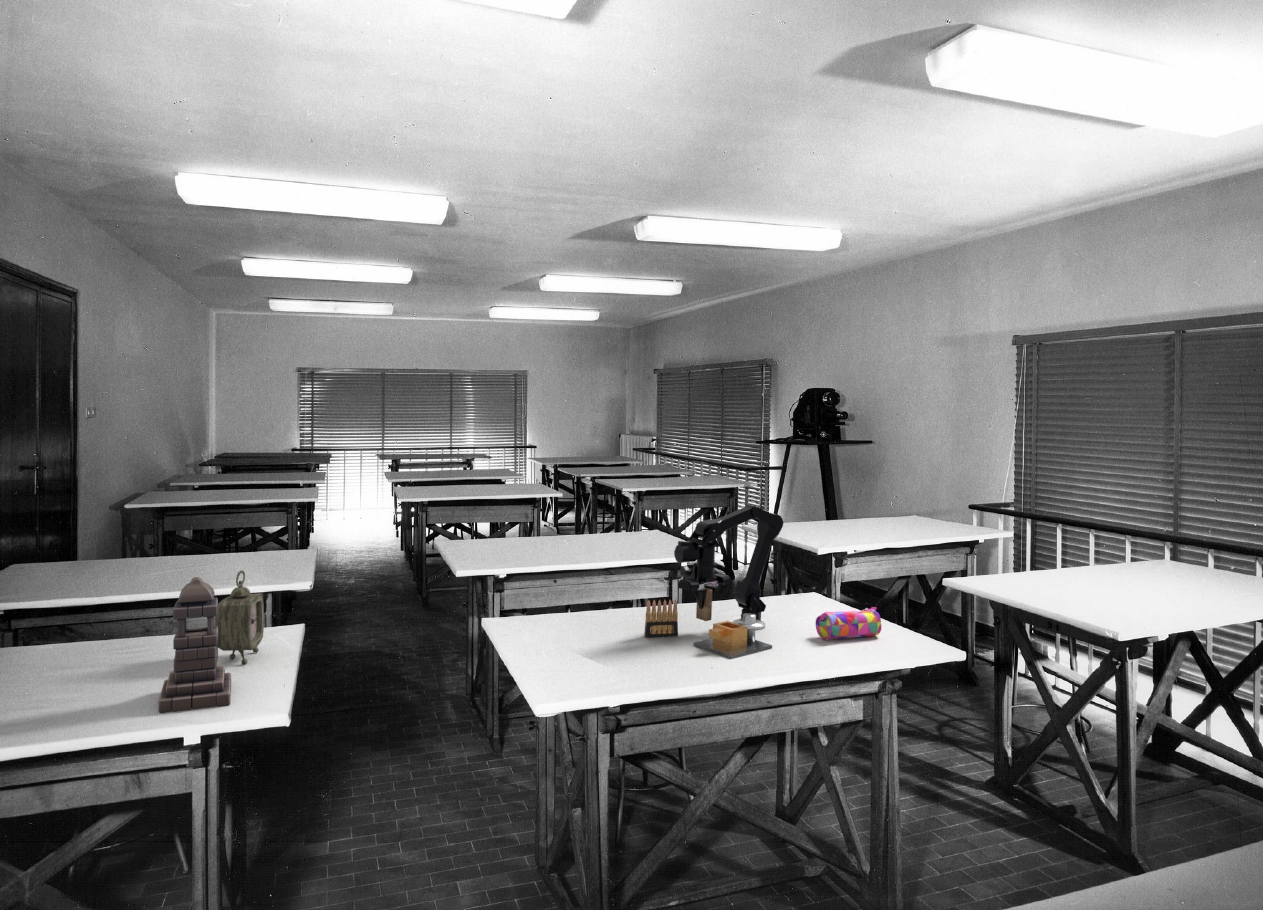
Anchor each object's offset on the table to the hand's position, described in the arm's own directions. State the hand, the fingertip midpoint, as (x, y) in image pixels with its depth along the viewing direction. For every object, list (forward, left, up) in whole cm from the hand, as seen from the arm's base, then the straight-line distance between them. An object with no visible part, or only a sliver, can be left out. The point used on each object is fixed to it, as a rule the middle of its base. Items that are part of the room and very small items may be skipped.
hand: (704, 608), depth 267 cm
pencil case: (-37, +30, -9) cm, 48 cm away
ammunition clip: (+14, -5, -8) cm, 17 cm away
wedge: (0, 0, -4) cm, 4 cm away
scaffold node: (+1, +16, -8) cm, 18 cm away
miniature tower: (+143, -29, -8) cm, 146 cm away
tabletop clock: (+127, -55, -8) cm, 139 cm away
